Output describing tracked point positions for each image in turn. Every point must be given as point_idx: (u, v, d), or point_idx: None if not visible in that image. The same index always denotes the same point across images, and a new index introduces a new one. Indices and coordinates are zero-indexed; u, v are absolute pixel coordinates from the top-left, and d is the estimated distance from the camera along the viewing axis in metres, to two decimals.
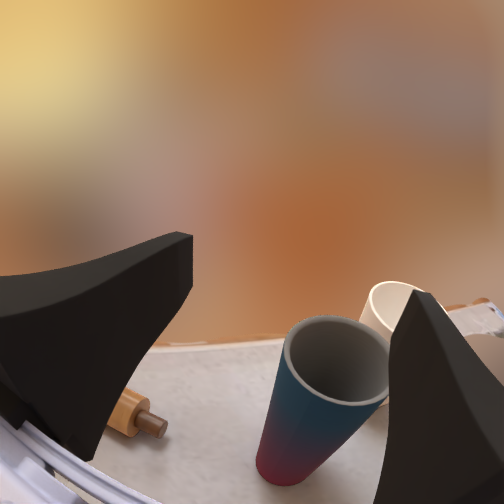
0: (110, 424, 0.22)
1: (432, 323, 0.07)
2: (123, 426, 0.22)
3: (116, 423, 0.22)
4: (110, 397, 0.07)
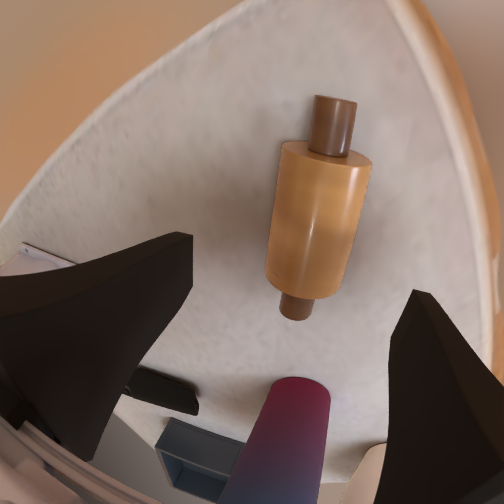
0: None
1: (432, 323, 0.07)
2: (265, 270, 0.16)
3: (267, 256, 0.16)
4: (110, 397, 0.07)
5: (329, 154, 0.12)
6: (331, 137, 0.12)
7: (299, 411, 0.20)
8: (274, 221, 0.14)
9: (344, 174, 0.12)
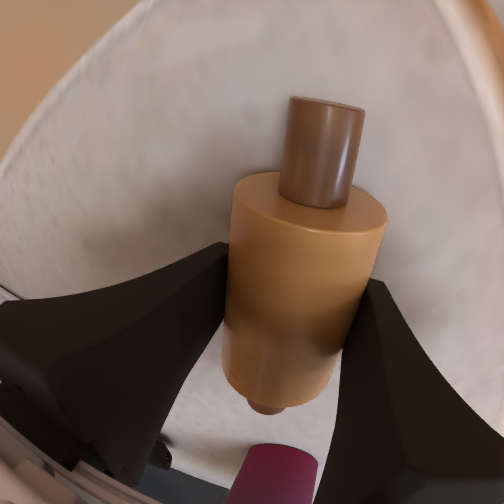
0: None
1: (374, 310, 0.07)
2: (222, 362, 0.11)
3: None
4: (158, 420, 0.07)
5: (314, 205, 0.07)
6: (318, 175, 0.07)
7: (277, 488, 0.15)
8: (227, 305, 0.09)
9: (340, 248, 0.07)
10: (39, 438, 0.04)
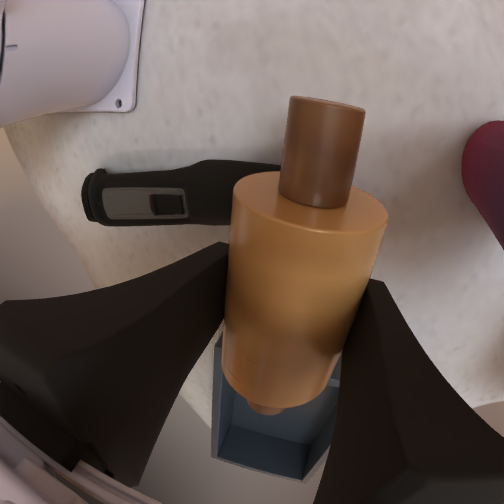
0: None
1: (374, 310, 0.07)
2: (222, 362, 0.11)
3: (222, 345, 0.10)
4: (158, 420, 0.07)
5: (314, 205, 0.07)
6: (318, 174, 0.07)
7: None
8: (226, 305, 0.09)
9: (340, 248, 0.07)
10: (39, 439, 0.04)
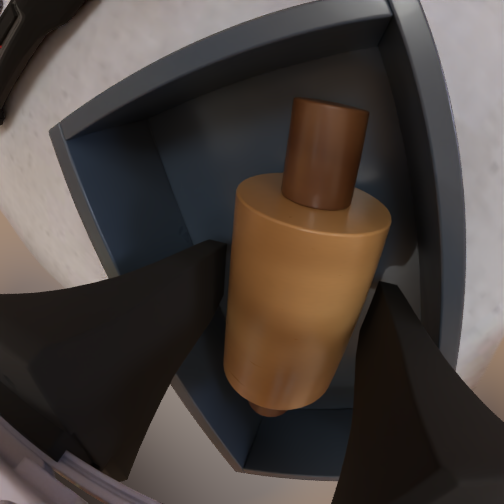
0: None
1: (391, 314, 0.07)
2: (224, 365, 0.11)
3: (224, 348, 0.10)
4: (147, 415, 0.07)
5: (319, 207, 0.07)
6: (323, 176, 0.07)
7: None
8: (229, 309, 0.09)
9: (347, 250, 0.07)
10: (26, 429, 0.04)
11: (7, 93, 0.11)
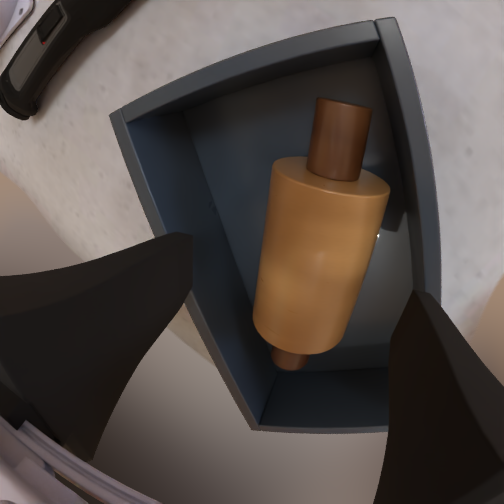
0: (257, 281, 0.13)
1: (432, 323, 0.07)
2: (256, 323, 0.13)
3: (257, 306, 0.12)
4: (110, 397, 0.07)
5: (340, 179, 0.09)
6: (343, 156, 0.09)
7: None
8: (266, 267, 0.11)
9: (366, 208, 0.09)
10: None
11: (44, 86, 0.14)
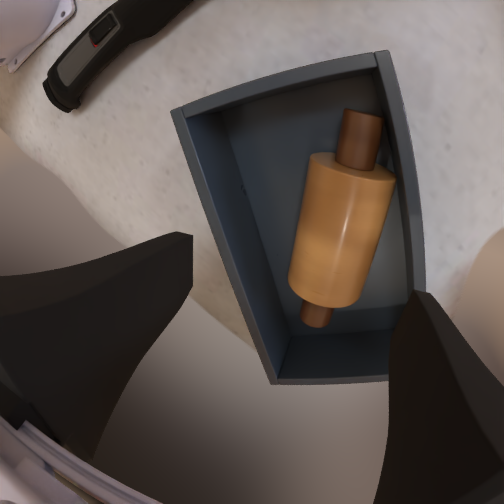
0: (295, 256, 0.15)
1: (432, 323, 0.07)
2: (299, 290, 0.15)
3: (300, 276, 0.15)
4: (110, 397, 0.07)
5: (366, 169, 0.13)
6: (369, 153, 0.12)
7: None
8: (313, 242, 0.14)
9: (389, 189, 0.12)
10: None
11: (89, 83, 0.17)
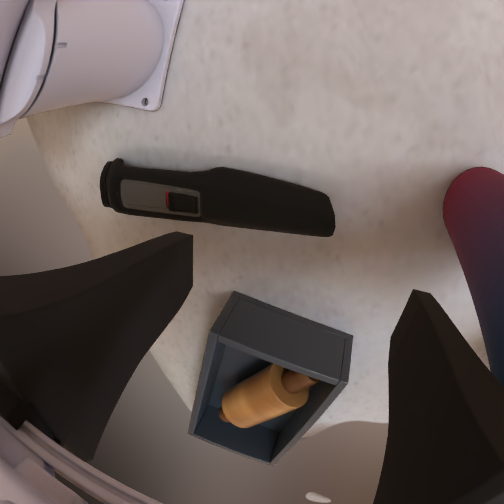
0: (233, 394, 0.24)
1: (432, 323, 0.07)
2: (224, 409, 0.24)
3: (229, 405, 0.24)
4: (110, 397, 0.07)
5: (292, 393, 0.22)
6: (298, 390, 0.21)
7: None
8: (244, 401, 0.23)
9: (295, 408, 0.22)
10: None
11: None
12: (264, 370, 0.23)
